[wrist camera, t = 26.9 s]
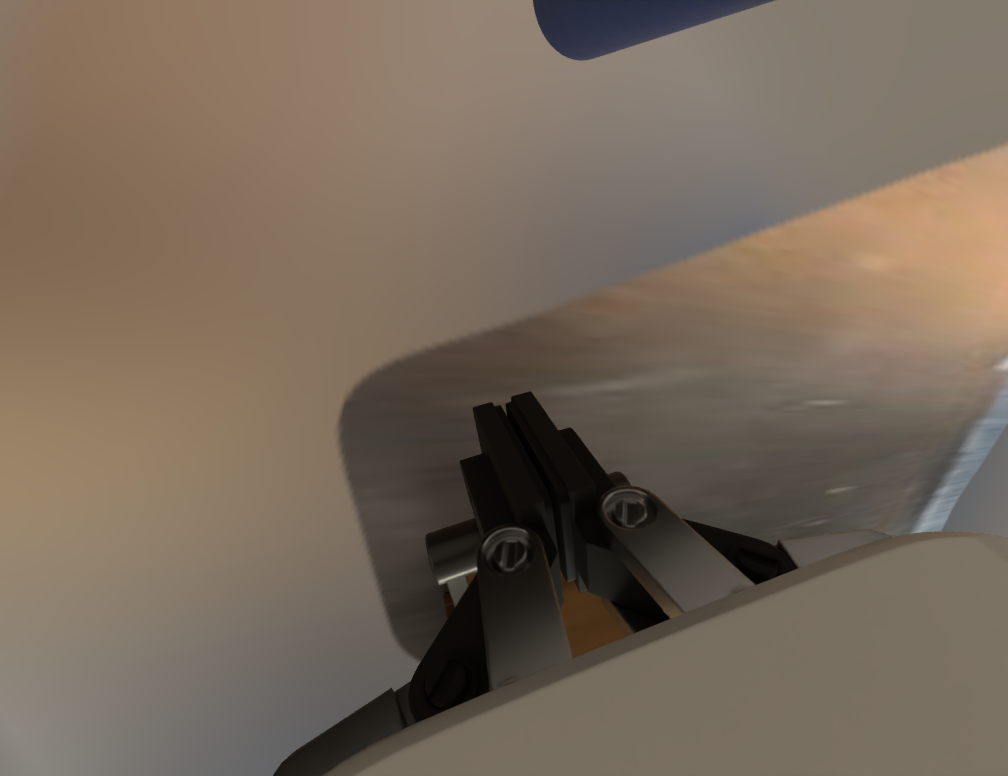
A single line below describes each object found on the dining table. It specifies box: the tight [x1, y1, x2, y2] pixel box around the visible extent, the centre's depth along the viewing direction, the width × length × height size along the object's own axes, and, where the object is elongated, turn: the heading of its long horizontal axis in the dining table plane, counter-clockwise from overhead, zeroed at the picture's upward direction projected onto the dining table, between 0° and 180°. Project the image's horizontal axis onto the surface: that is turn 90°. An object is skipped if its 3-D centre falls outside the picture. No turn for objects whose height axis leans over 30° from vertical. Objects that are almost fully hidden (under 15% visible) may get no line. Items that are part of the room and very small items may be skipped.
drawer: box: [425, 472, 631, 658], centre depth 18 cm, size 18×6×6 cm, turn 9°
